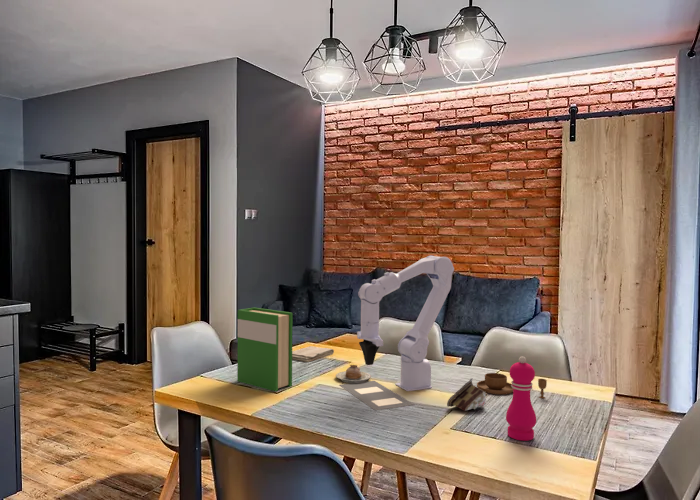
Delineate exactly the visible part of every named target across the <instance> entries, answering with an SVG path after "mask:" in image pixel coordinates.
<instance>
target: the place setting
mask: <svg viewBox="0 0 700 500" xmlns="http://www.w3.org/2000/svg"><path fill="white" fill-rule="evenodd" d="M537 381H538V382H537V383H538V388H539V389H540V392H539V394H540V396H538V398H539V399H542V400H544V399H546V397H545V396H544V395H545V393H544V390H545V389H546V388H547V381H548V380H547V379H545V378H538V380H537ZM511 385H512V383H510V382H508V376H507V375H506V374H502V373H499V372H498V373H497V372H490V373H489V372H487V373H485V374H484V380H480V381H477V382H476V387H477V388H479V389H481V390H482V391H484V392H485V393H486V394H485V396H487V394H491V395H496V396H497V395H498V396H499V395H503V396H504V395H510V394H513V388H512V387H511Z"/></svg>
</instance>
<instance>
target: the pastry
mask: <svg viewBox="0 0 700 500" xmlns="http://www.w3.org/2000/svg"><path fill="white" fill-rule="evenodd" d="M335 377H336V378H337V379H339V380H341V382H343V383H345V384H350V383H363V382H367V381H369V379H371V377H372V376H371V374H370V373H368V372H365V371H362V370H361V371H360V367H359V366H358V365H357V364H351V365H349V367H347V369H346V370H345V371H339V372H338V373H336V374H335Z"/></svg>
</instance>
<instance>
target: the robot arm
mask: <svg viewBox="0 0 700 500" xmlns="http://www.w3.org/2000/svg"><path fill="white" fill-rule="evenodd" d="M454 271H455V267H454V265H453V261H452V260H451V259H450V258H449V257H448V256H437V255H436V256H435V255H432V254H431V255H428V256H426V257H424V258H423V257H422V258H420V259H419V260H418V261H416V262H414V263H412V264H411V265H409V266H407V267H405V268H404V269H402V270H400V271H398V272H397V273H395V272H393V271H391V272H389V271H387V272H384V273H383V275H382V276H381V277H378V278H377V279H375V278H374V279H372V280H371V283H369V282H366V283H364V284H362V285H361V286H360V288H359V291H358V292H357V294H358V297H359V298H360V301H361V302H360V331H357V332H356V337H357V339H358V340H362V341H359V342H358V345H359V347H360V349H361V351H362V355H363V359H364V363H365V365H366V366H373V365H374V363H375V359H376V355H377V353H378V350H379V348H380V347H384V339H382V338H381V336H380V302H381V301H382V299H383V297H385V296H387V295H389V294H391V293H392V292H395V291H396V290H397V291H398V289H400V288H401V285H402V283H403V282H406V281H408V280H411V279H412V278H414V277H417V276H419V275H421V274H426V275H427V277H428V278H429V279H430V281H431V284H432V289H431V290H430V292H429V294H428V296H427V298H426V301H425V303H424V304H423V307H422V308H421V311H420V313H419V315H418V316H417V319H416V320H415V323H414V325H413V327H412V328H411V329H409V330H408V331H406V333H405V335H404V336H403V337H402V338H401V339H400V340H399V341H398V343H397V350H398V351H397V352H398V353H399V354H400V382H395V383H394V384H395V385H396V386H397V387H398V388H400V389H402V390H405V391H406V392H411V391H419V390H426V389H427V390H428V389H432V388H433V386H432V365H431V363H430V361H429V360H428V359H427V358H426V357H427V354H428V347H429V344H430V340H429V334H430V332H431V330H432V329H433V326H434V323H435V322H436V319H437V317H438V315H439V314H440V312H441V309H442V307H443V306H444V304H445V301H446V299H447V297H448V294H449V293H450V291H451V290H452V280H453V273H454Z"/></svg>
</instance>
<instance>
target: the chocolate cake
mask: <svg viewBox="0 0 700 500" xmlns="http://www.w3.org/2000/svg"><path fill="white" fill-rule="evenodd" d="M485 394H487V393H485V392H484V391H482V390H481V389H479V388H478V387H477V385H473V378H470V379H469V380H468V381H467V382H465V383H464V384H463V385H462V386H461V387H460V388H459V389H458V390H457V391H456V392H455V393H454V394H452V395H451V396H450V397H449V398H448V400H447V403H446V407H451V408H452V407H456V408H459V409H460V410H461V411H463V412H465V411H469V410H472V409H473V410H475V411H479V408H484V407H485V406H486V400H487V399H486V395H485Z"/></svg>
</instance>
